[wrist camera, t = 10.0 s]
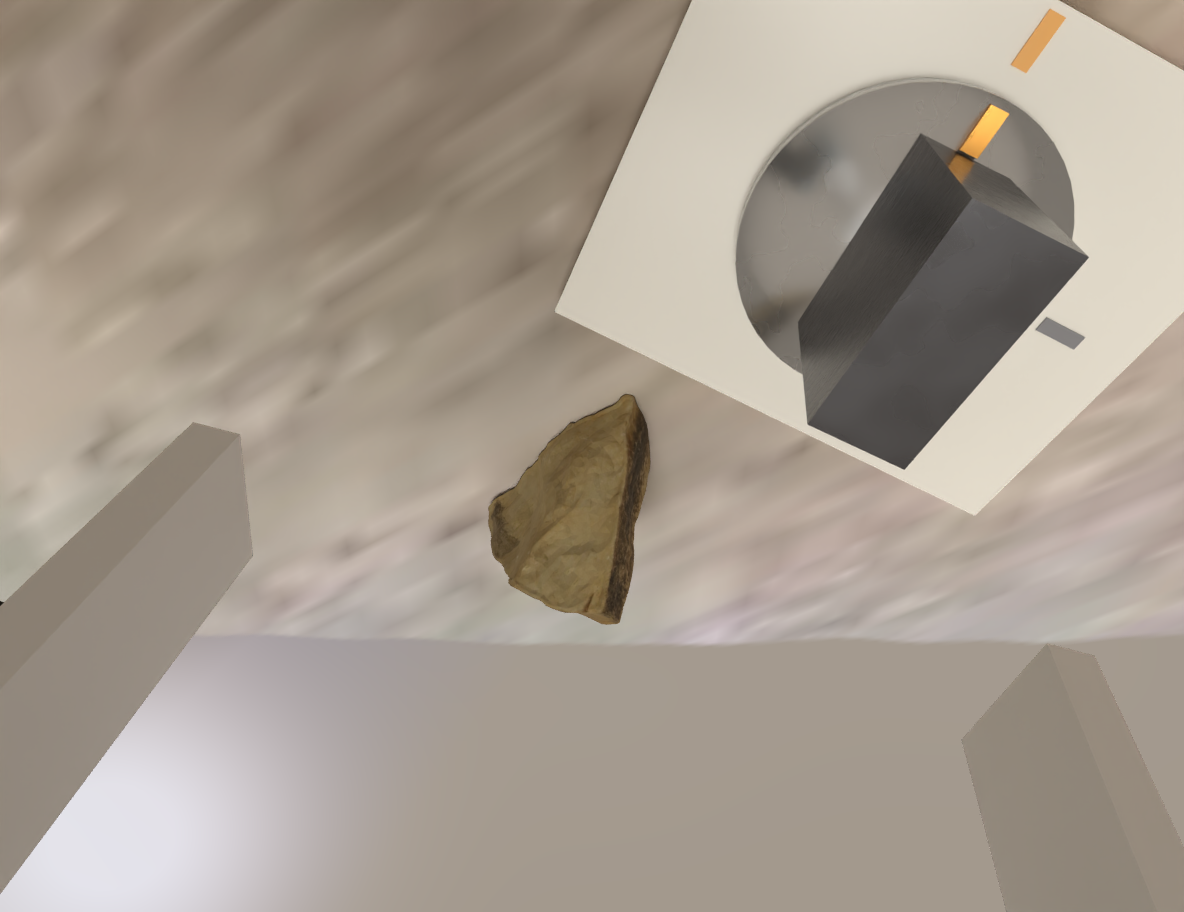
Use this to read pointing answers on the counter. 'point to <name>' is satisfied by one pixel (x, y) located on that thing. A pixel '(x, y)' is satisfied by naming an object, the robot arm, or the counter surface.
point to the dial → (904, 254)
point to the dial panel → (832, 71)
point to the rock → (577, 515)
